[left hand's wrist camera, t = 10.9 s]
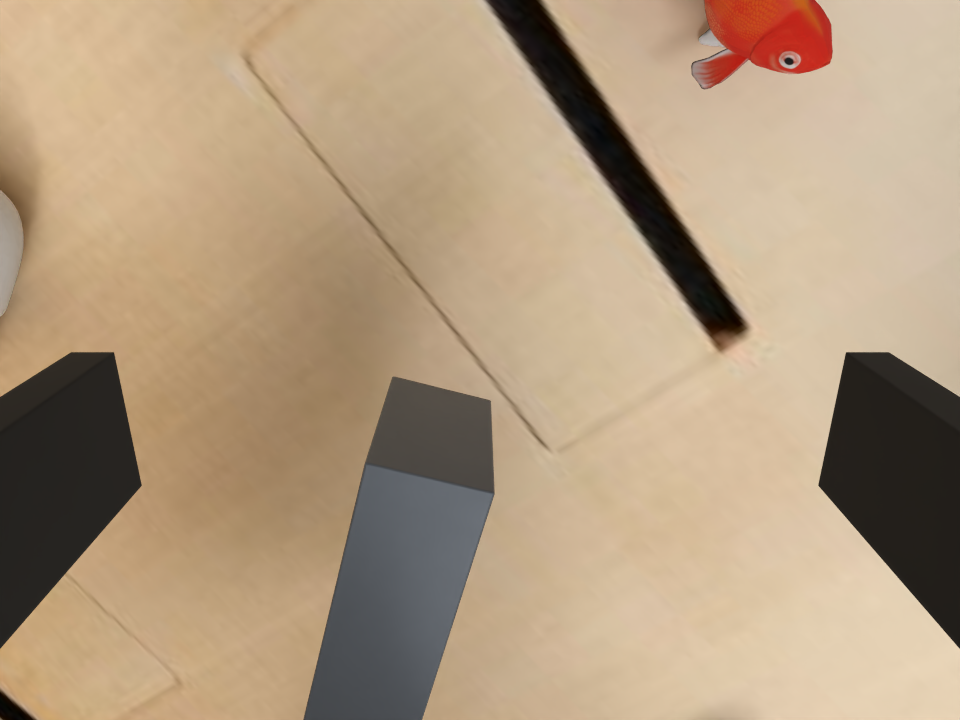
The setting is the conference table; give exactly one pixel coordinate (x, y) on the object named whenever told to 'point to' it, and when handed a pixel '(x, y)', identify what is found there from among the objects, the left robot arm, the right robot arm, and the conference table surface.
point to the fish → (764, 37)
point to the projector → (9, 249)
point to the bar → (405, 555)
